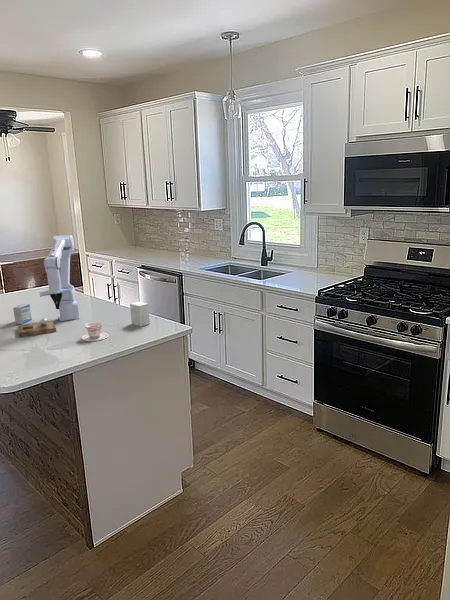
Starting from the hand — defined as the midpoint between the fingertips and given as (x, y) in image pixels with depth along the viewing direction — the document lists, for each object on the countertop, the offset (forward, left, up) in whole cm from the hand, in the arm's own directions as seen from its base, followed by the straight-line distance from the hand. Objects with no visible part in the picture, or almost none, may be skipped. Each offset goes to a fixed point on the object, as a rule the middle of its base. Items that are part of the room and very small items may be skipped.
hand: (57, 308), depth 227 cm
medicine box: (+15, -20, -10) cm, 27 cm away
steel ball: (+7, 0, -6) cm, 9 cm away
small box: (-37, +16, -10) cm, 41 cm away
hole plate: (+10, 0, -9) cm, 14 cm away
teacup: (-12, +25, -10) cm, 30 cm away
